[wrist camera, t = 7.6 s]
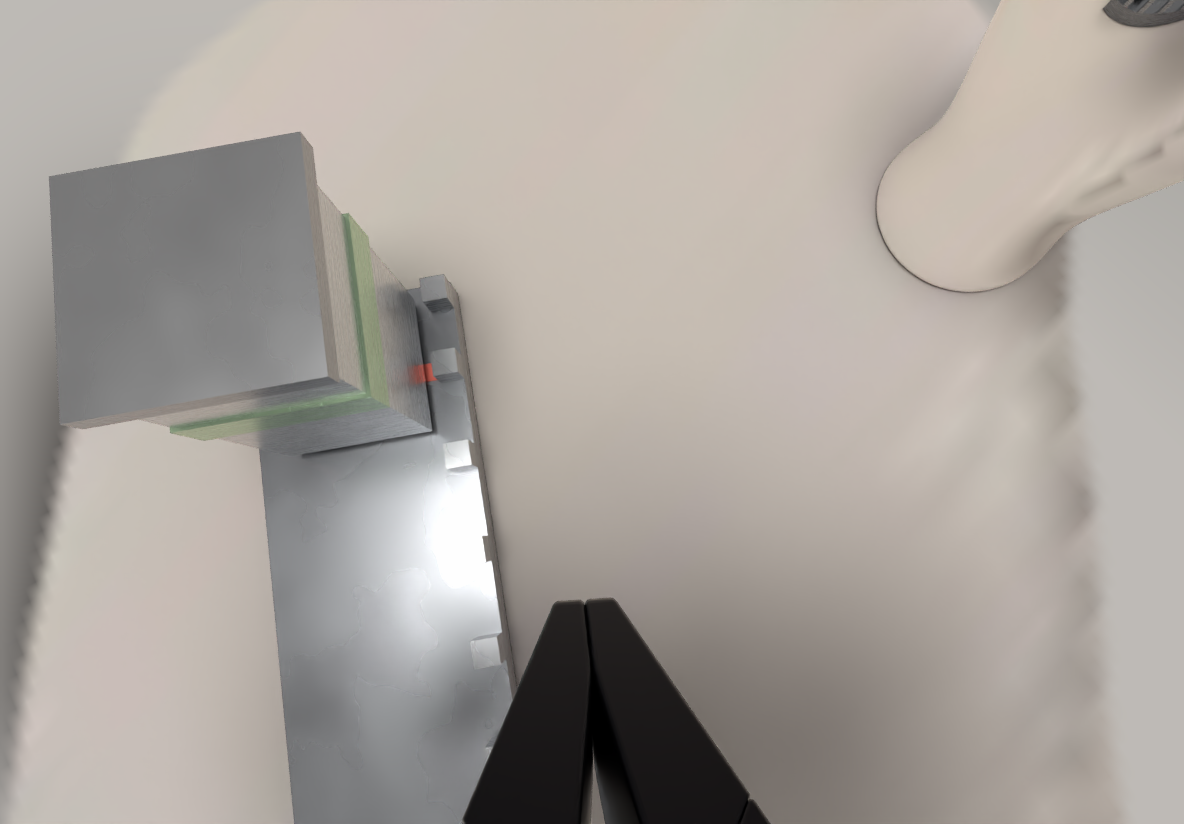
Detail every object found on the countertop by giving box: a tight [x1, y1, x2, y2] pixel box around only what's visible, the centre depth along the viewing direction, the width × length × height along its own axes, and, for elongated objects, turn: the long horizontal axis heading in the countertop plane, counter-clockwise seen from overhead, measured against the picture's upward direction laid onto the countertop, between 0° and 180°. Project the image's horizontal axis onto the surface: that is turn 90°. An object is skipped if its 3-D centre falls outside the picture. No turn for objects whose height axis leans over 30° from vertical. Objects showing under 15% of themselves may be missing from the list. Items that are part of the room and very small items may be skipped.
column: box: [49, 132, 432, 456], centre depth 18 cm, size 5×5×9 cm
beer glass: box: [876, 0, 1184, 292], centre depth 18 cm, size 7×7×15 cm
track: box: [259, 274, 517, 824], centre depth 21 cm, size 24×7×4 cm, turn 10°
